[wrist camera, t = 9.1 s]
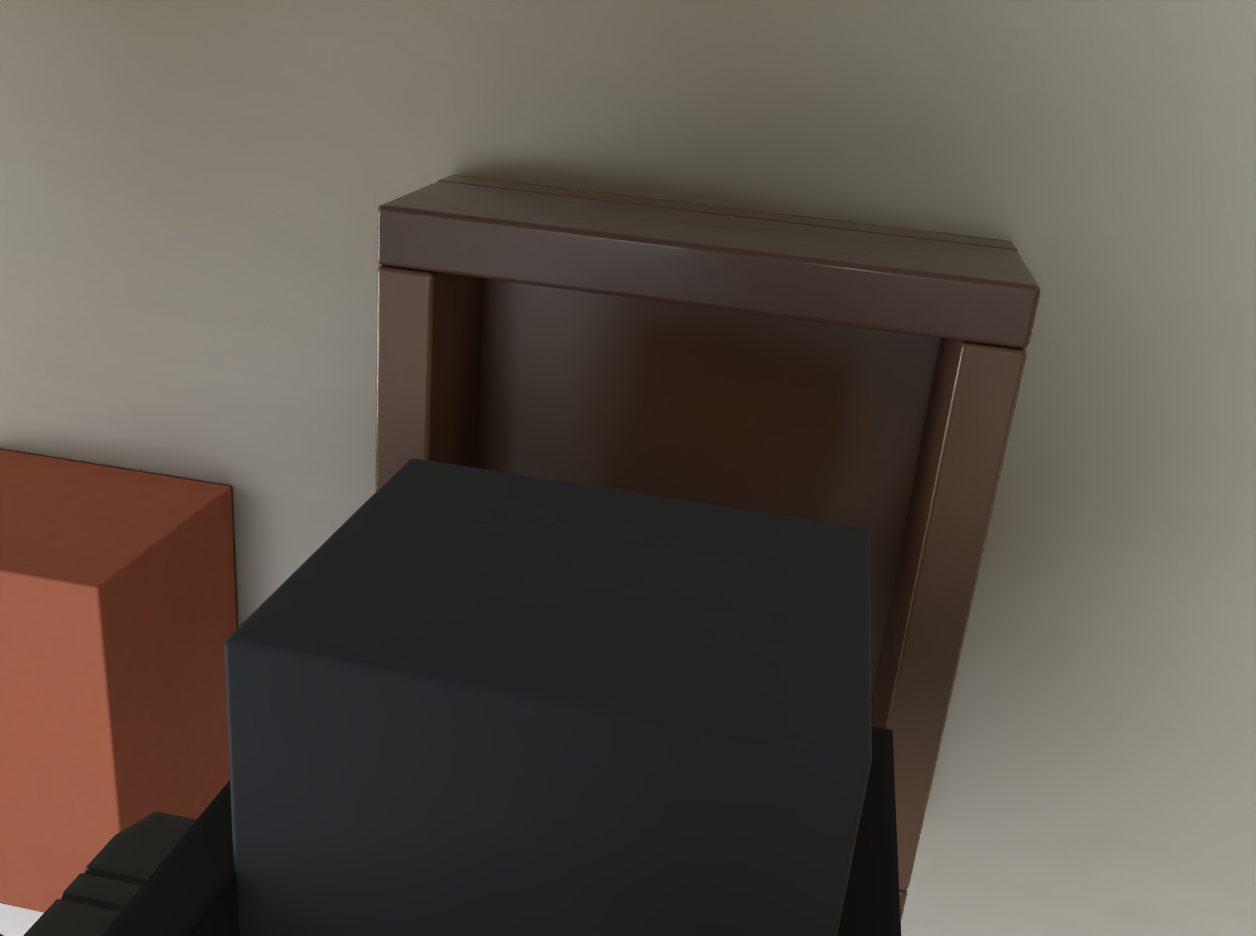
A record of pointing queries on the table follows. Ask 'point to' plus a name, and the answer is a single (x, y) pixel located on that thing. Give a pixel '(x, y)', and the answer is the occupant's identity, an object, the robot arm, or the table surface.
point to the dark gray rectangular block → (552, 718)
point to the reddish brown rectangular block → (106, 660)
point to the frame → (724, 386)
